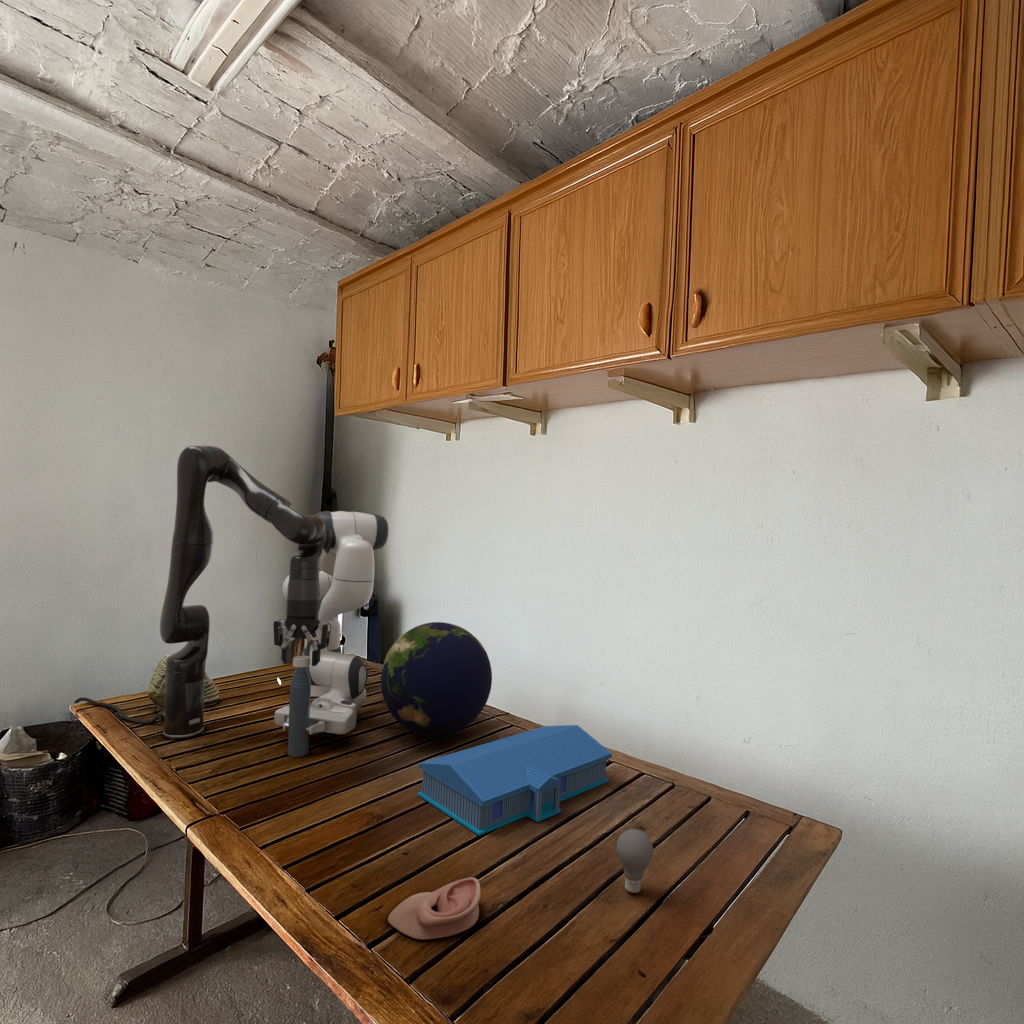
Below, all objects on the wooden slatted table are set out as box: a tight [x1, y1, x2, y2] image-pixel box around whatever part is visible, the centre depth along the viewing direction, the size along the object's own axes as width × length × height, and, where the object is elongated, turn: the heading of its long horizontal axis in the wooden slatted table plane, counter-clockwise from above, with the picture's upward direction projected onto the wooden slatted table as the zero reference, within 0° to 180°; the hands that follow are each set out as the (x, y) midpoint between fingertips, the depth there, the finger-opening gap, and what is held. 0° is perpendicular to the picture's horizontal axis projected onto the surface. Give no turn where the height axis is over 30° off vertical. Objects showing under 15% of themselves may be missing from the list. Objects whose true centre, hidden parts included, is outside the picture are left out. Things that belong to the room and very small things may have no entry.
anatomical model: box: [387, 877, 482, 940], centre depth 97 cm, size 13×4×12 cm
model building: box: [417, 724, 613, 837], centre depth 140 cm, size 39×24×10 cm, turn 132°
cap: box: [292, 655, 310, 668], centre depth 155 cm, size 4×4×2 cm
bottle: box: [287, 667, 312, 758], centre depth 155 cm, size 5×5×23 cm
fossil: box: [147, 654, 221, 712], centre depth 185 cm, size 9×18×15 cm, turn 132°
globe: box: [380, 621, 493, 737], centre depth 172 cm, size 30×30×30 cm
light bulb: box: [615, 828, 654, 894], centre depth 106 cm, size 6×6×10 cm
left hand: (300, 664), depth 155 cm, fingers open, 6 cm apart
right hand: (296, 729), depth 155 cm, fingers closed on bottle, 5 cm apart
